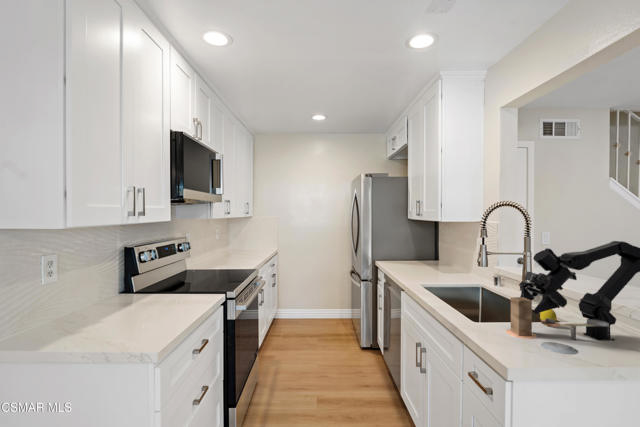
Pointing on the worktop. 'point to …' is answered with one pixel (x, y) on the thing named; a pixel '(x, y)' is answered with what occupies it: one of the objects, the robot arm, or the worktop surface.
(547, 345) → the slate dish
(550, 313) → the lemon
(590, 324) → the balance
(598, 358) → the worktop surface
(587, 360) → the worktop surface
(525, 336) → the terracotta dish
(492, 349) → the worktop surface
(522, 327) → the walnut block
